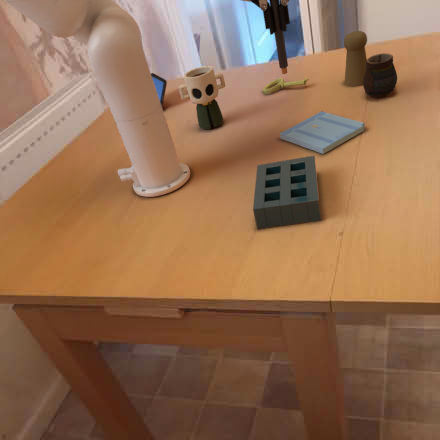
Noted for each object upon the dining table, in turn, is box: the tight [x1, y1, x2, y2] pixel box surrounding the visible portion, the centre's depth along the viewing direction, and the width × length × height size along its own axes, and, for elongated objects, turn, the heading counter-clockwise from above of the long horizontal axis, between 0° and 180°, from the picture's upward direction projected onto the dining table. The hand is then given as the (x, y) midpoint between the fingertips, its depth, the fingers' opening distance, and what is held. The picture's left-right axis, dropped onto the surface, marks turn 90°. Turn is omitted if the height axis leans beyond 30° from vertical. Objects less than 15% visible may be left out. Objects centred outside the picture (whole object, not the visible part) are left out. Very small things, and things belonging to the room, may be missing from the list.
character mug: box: [178, 65, 226, 130], centre depth 113 cm, size 11×7×13 cm, turn 97°
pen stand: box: [252, 155, 322, 230], centre depth 82 cm, size 11×15×4 cm
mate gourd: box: [362, 52, 398, 99], centre depth 104 cm, size 7×8×10 cm
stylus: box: [268, 0, 289, 75], centre depth 86 cm, size 2×2×13 cm
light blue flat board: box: [279, 110, 366, 155], centre depth 99 cm, size 14×12×1 cm
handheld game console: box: [150, 72, 168, 111], centre depth 135 cm, size 12×11×7 cm
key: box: [262, 77, 310, 95], centre depth 124 cm, size 7×12×2 cm, turn 73°
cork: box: [343, 30, 368, 87], centre depth 112 cm, size 6×6×11 cm
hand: (278, 30), depth 85 cm, fingers closed on stylus, 1 cm apart
